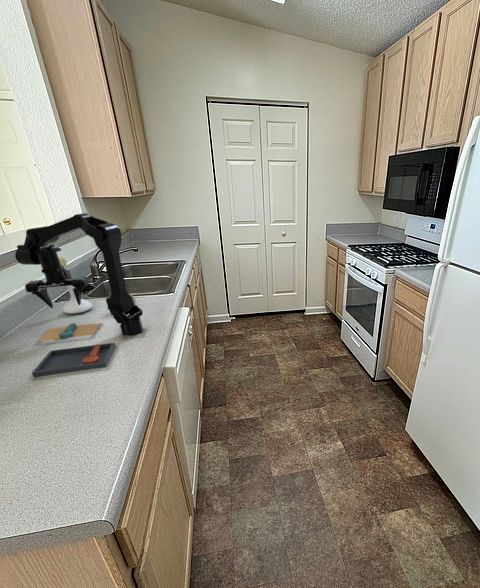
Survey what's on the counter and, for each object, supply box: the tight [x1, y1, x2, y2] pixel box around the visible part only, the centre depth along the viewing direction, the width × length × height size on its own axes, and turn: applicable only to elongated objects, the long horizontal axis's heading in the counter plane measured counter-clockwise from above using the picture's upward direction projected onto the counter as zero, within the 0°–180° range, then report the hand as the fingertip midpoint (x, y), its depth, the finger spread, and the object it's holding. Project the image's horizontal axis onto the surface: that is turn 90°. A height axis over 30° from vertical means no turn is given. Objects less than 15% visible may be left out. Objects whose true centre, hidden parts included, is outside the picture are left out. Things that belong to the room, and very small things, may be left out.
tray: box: [31, 342, 117, 378], centre depth 107 cm, size 20×15×2 cm
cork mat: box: [39, 323, 102, 342], centre depth 127 cm, size 18×14×1 cm
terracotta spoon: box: [82, 346, 102, 364], centre depth 107 cm, size 4×11×2 cm, turn 16°
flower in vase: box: [58, 255, 93, 315], centre depth 143 cm, size 13×11×25 cm
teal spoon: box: [58, 322, 78, 340], centre depth 126 cm, size 4×11×2 cm, turn 16°
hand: (66, 306), depth 125 cm, fingers open, 9 cm apart
